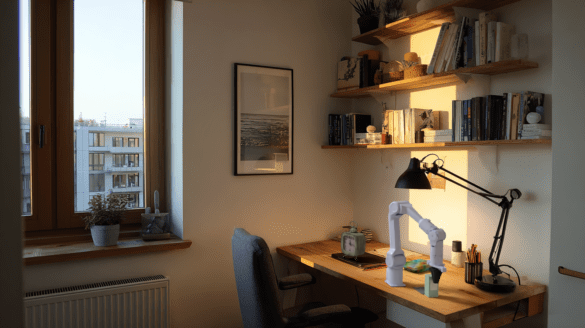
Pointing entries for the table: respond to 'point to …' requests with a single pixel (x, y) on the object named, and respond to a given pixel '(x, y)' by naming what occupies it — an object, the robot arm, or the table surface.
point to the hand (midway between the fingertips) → (435, 283)
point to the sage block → (430, 286)
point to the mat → (420, 289)
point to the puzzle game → (417, 265)
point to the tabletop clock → (353, 242)
